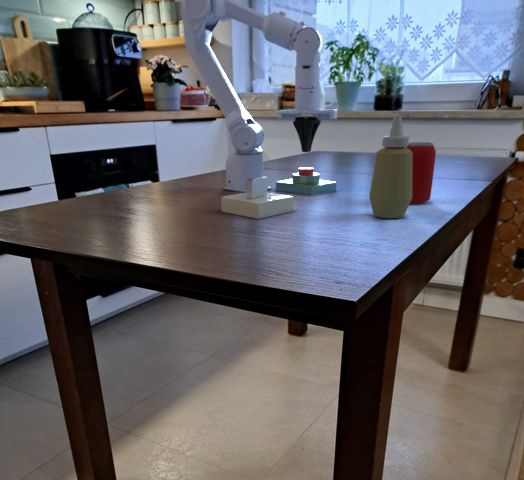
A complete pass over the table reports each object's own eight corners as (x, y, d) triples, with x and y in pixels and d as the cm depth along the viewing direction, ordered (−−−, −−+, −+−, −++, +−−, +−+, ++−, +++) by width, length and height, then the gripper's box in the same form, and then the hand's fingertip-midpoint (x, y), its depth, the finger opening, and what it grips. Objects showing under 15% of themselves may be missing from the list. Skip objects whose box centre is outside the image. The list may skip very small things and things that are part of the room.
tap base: (221, 211, 108) (220, 196, 106) (256, 204, 114) (256, 189, 113) (258, 219, 100) (257, 202, 99) (293, 211, 107) (293, 195, 105)
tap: (261, 193, 108) (260, 175, 107) (267, 194, 108) (267, 175, 106) (246, 198, 104) (245, 179, 102) (252, 198, 103) (251, 179, 102)
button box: (275, 190, 130) (275, 174, 128) (299, 186, 136) (299, 170, 134) (312, 196, 122) (312, 178, 120) (335, 191, 128) (336, 174, 126)
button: (295, 175, 127) (295, 168, 127) (305, 174, 130) (305, 166, 129) (306, 177, 125) (306, 169, 124) (316, 175, 127) (316, 168, 126)
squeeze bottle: (385, 222, 96) (395, 116, 88) (359, 214, 102) (365, 115, 94) (419, 217, 99) (430, 114, 91) (391, 210, 106) (400, 113, 98)
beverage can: (426, 199, 116) (433, 141, 111) (432, 204, 110) (440, 144, 105) (396, 199, 117) (401, 142, 111) (400, 204, 111) (406, 144, 105)
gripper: (271, 89, 119) (272, 152, 125) (329, 88, 112) (327, 154, 118) (286, 89, 124) (285, 149, 131) (342, 88, 118) (339, 151, 124)
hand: (306, 151), depth 125 cm, fingers closed
